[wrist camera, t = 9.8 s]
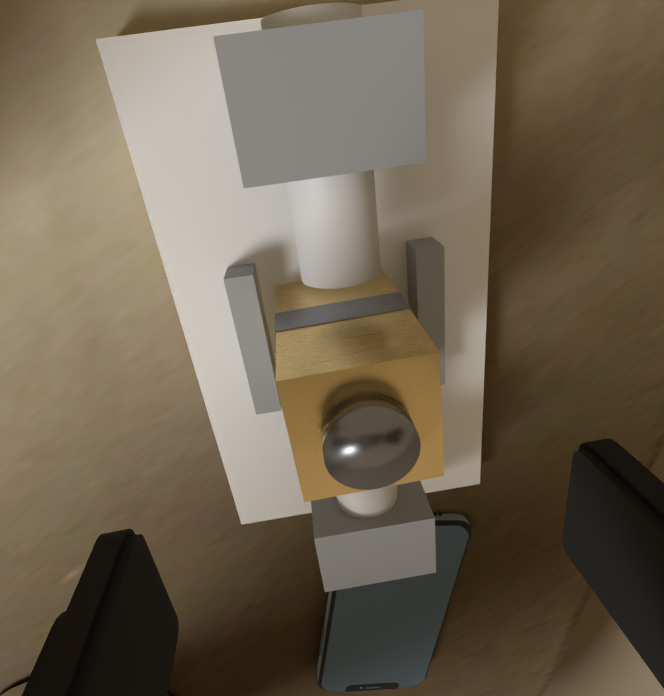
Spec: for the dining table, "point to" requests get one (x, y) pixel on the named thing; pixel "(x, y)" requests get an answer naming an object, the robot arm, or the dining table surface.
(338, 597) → the smartphone
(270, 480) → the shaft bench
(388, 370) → the block
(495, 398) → the dining table surface
